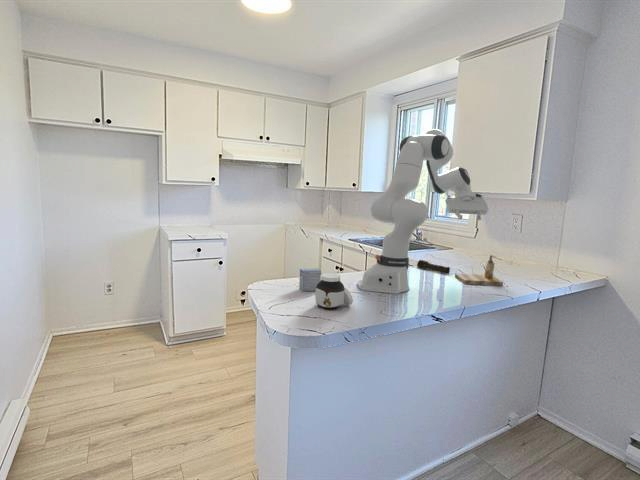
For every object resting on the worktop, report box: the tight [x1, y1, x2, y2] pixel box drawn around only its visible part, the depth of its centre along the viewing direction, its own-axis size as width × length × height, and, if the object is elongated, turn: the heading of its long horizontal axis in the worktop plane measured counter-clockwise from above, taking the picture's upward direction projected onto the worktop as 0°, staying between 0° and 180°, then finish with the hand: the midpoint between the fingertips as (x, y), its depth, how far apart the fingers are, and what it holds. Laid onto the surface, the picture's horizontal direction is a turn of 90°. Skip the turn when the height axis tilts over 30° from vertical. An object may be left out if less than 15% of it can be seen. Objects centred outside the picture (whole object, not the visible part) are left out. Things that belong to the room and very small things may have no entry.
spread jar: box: [314, 272, 354, 311], centre depth 131 cm, size 12×11×12 cm
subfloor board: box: [454, 273, 504, 287], centre depth 177 cm, size 18×13×2 cm
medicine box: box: [298, 267, 322, 292], centre depth 150 cm, size 8×4×9 cm, turn 111°
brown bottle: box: [484, 255, 495, 279], centre depth 176 cm, size 4×4×11 cm
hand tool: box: [416, 259, 451, 275], centre depth 196 cm, size 19×4×5 cm, turn 38°
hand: (470, 219), depth 183 cm, fingers open, 8 cm apart
